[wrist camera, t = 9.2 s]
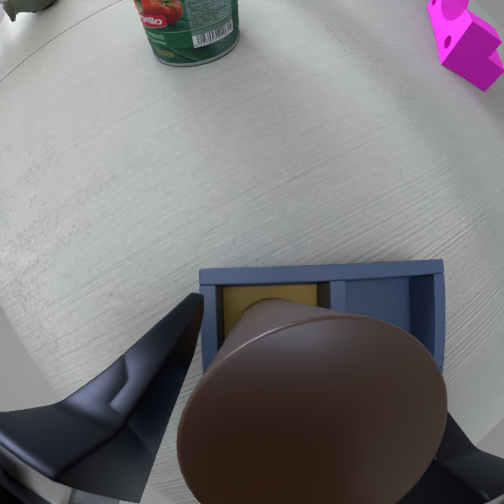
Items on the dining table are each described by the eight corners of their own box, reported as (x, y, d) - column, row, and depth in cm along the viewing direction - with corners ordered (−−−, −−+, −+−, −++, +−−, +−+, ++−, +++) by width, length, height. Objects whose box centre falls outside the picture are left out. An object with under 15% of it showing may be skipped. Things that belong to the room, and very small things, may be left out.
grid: (404, 443, 15) (426, 464, 12) (220, 465, 15) (214, 496, 12) (413, 265, 17) (443, 258, 14) (210, 273, 17) (198, 268, 14)
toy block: (484, 91, 20) (518, 56, 12) (441, 64, 20) (472, 20, 13) (463, 27, 22) (484, -4, 14) (427, 6, 22) (445, -28, 14)
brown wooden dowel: (306, 364, 16) (421, 510, 3) (237, 367, 16) (194, 541, 3) (305, 296, 16) (457, 299, 3) (234, 298, 16) (161, 319, 3)
